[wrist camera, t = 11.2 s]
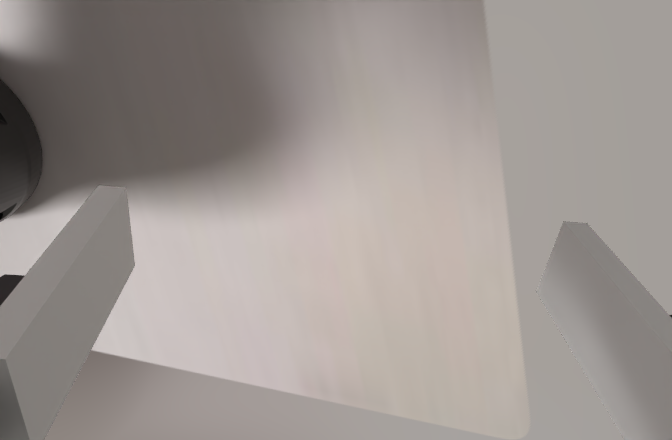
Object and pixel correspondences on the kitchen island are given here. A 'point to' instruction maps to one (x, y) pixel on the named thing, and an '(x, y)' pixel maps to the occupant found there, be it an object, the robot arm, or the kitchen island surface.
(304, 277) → the kitchen island surface
